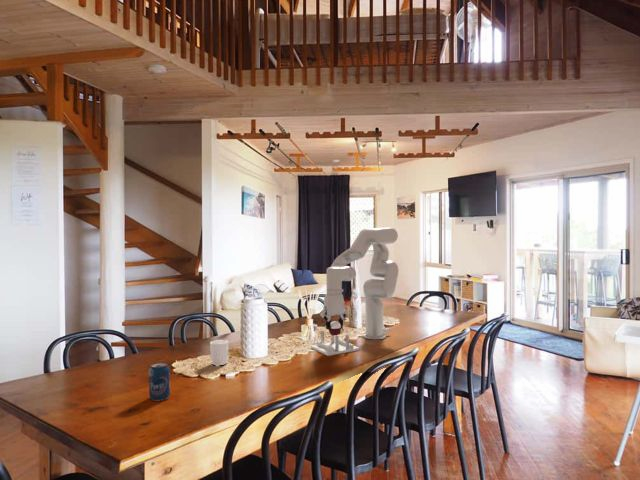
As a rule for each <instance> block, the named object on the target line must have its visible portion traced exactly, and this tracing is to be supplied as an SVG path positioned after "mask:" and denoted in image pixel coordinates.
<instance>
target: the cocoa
mask: <svg viewBox="0 0 640 480" xmlns="http://www.w3.org/2000/svg"><path fill="white" fill-rule="evenodd" d="M330 322H331V329H330V330H328V332H329V334H330V336H331V335H334V336H339V335H341V334H343V332H344V327H343V328H341V324H340V323H339V322H338V320H334V321H332V320H331V319H330Z"/></svg>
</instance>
